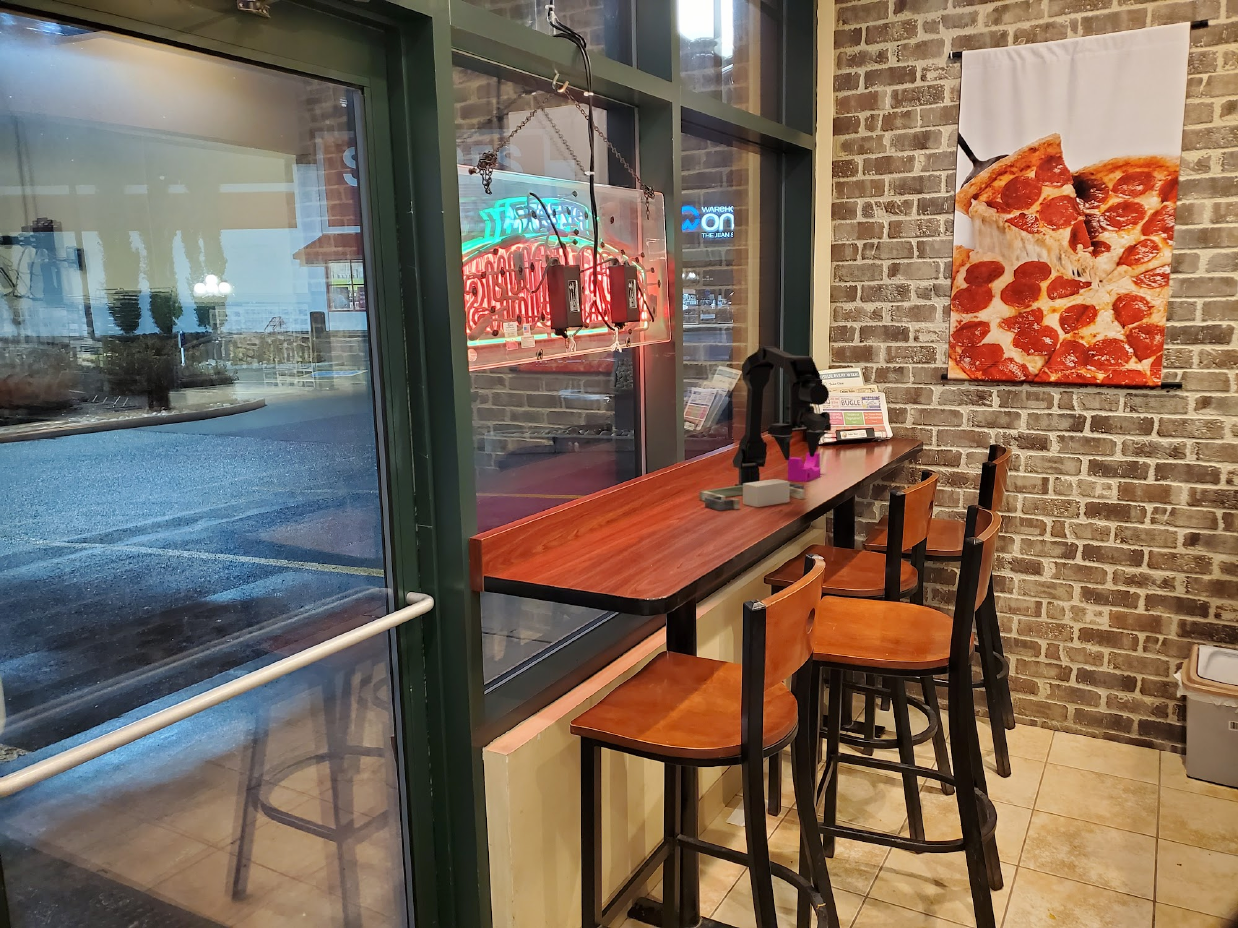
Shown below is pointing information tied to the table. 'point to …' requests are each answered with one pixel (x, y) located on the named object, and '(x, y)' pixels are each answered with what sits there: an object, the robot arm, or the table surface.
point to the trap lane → (717, 496)
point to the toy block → (804, 468)
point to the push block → (766, 492)
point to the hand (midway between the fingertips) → (799, 458)
